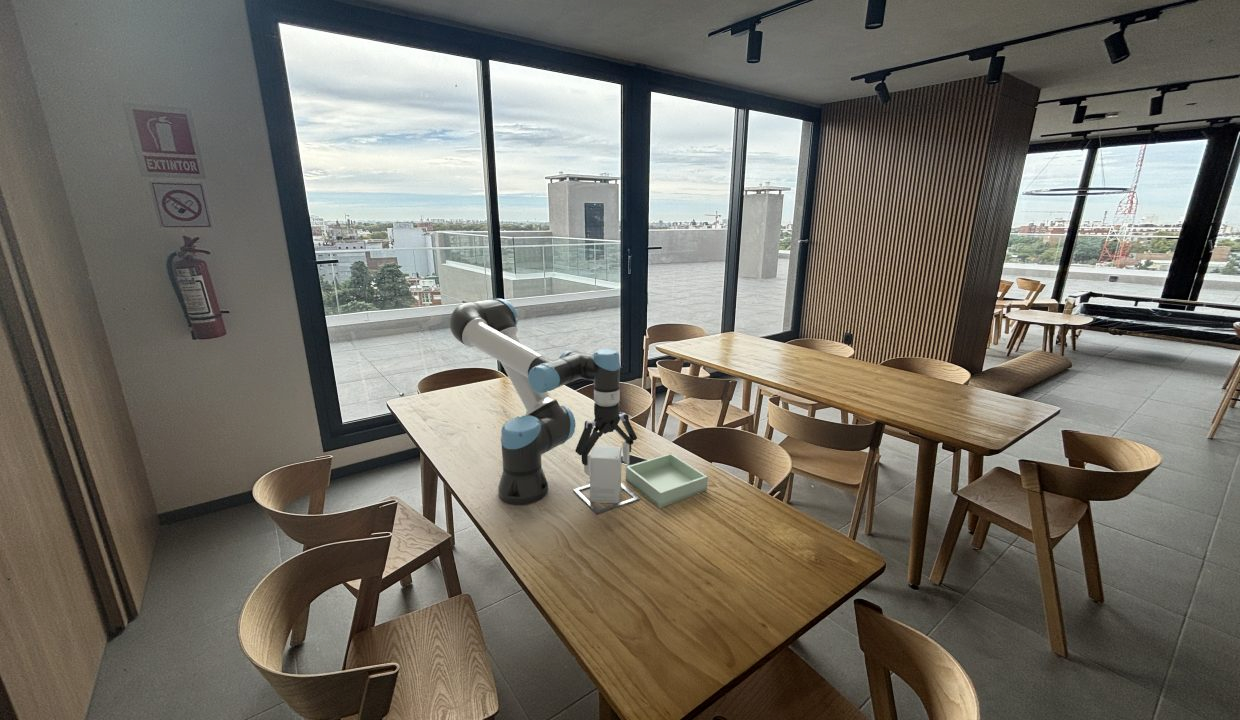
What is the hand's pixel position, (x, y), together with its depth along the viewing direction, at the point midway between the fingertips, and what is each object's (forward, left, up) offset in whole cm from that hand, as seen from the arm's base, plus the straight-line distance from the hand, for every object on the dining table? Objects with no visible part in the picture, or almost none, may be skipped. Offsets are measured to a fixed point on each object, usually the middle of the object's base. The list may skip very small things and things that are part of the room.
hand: (607, 467), depth 149 cm
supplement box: (0, 0, -10) cm, 10 cm away
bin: (+19, -5, -10) cm, 22 cm away
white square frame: (0, 0, -10) cm, 10 cm away
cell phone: (+20, +13, -10) cm, 26 cm away
